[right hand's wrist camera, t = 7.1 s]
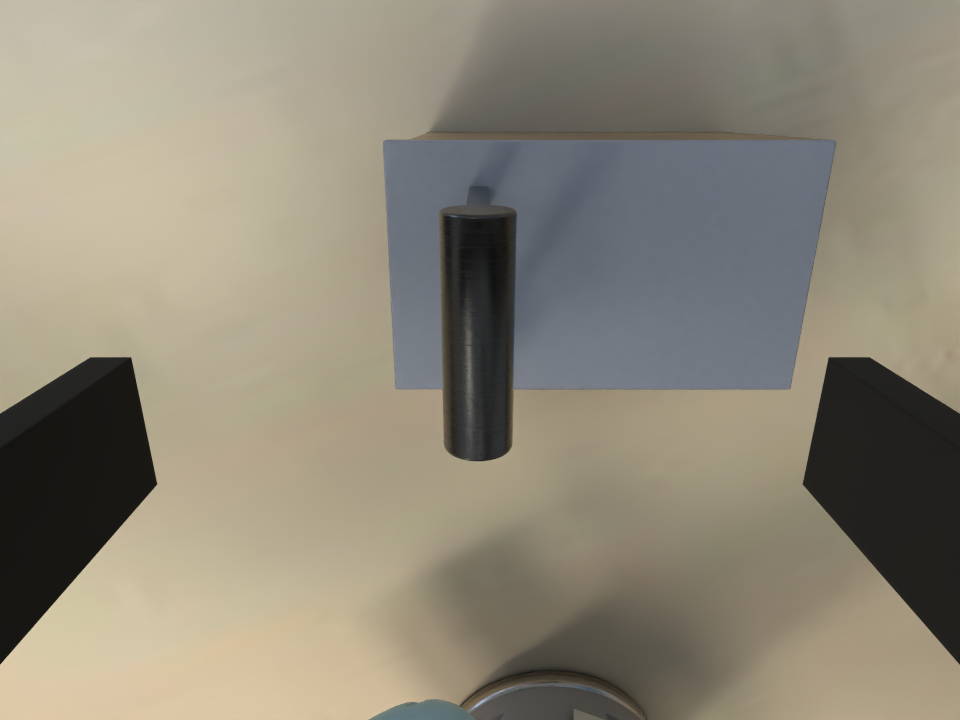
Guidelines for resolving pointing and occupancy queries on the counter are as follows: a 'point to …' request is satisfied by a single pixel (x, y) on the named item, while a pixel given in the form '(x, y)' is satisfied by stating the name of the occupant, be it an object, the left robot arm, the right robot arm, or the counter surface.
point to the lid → (596, 268)
